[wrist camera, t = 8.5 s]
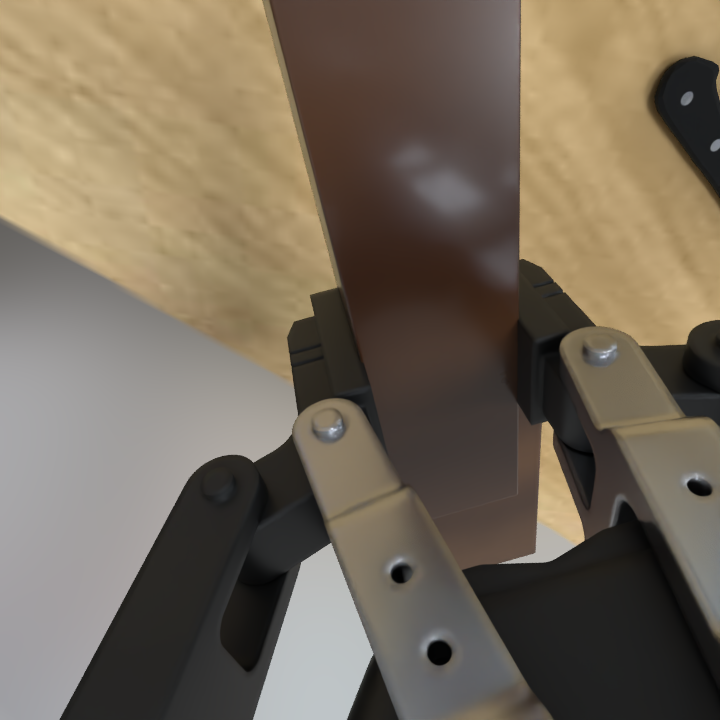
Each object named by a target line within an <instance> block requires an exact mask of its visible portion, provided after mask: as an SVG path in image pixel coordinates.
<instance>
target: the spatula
mask: <svg viewBox="0 0 720 720" xmlns="http://www.w3.org/2000/svg"><path fill="white" fill-rule="evenodd" d="M262 1H263V5H264V9H265V13H266V17H267V20H268V24H269V28H270V32H271V36H272V39H273V43H274V47H275V51H276V55H277V59H278V62H279V66H280V70H281V74H282V78H283V81H284V85H285V89H286V93H287V97H288V100H289V104H290V108H291V112H292V116H293V120H294V123H295V127H296V131H297V135H298V139H299V142H300V146H301V150H302V154H303V158H304V161H305V165H306V169H307V173H308V177H309V181H310V184H311V188H312V192H313V196H314V200H315V203H316V207H317V211H318V215H319V219H320V222H321V226H322V230H323V234H324V238H325V242H326V245H327V249H328V253H329V257H330V261H331V264H332V268H333V272H334V276H335V280H336V283H337V287H338V288H339V291H340V294H341V298H342V301H343V304H344V308H345V311H346V314H347V317H348V321H349V324H350V327H351V331H352V334H353V337H354V340H355V344H356V347H357V350H358V354H359V357H360V360H361V362H362V363H364V366H365V369H366V372H367V376H368V379H369V382H370V385H371V389H372V393H373V397H374V401H375V405H376V409H377V413H378V417H379V421H380V425H381V429H382V433H383V437H384V441H385V445H386V449H387V452H388V456H389V458H390V460H391V462H392V464H393V466H394V467H395V469H396V471H397V473H398V474H399V476H400V478H401V480H402V481H403V483H404V484H405V485H407V484H410V485H411V486H412V487H413V489H414V490H415V491H416V493H417V494H418V496H419V498H420V499H421V501H422V503H423V505H424V506H425V508H426V510H427V512H428V513H429V515H430V517H431V519H432V520H433V522H434V524H435V525H436V527H437V529H438V531H439V532H440V534H441V536H442V538H443V539H444V541H445V543H446V544H447V546H448V548H449V550H450V551H451V553H452V555H453V557H454V558H455V560H456V562H457V563H458V565H459V567H460V569H461V570H463V569H467V568H470V567H474V566H477V565H482V564H499V563H502V562H505V561H509V560H512V559H516V558H519V557H523V556H526V555H529V554H533V553H535V550H536V529H537V509H538V489H539V468H540V448H541V428H542V423H539V424H536V425H532V426H531V424H530V423H529V421H528V419H527V418H526V416H525V414H524V413H523V411H522V409H521V408H520V406H519V405H518V403H517V386H518V319H519V218H520V50H521V0H262Z"/></svg>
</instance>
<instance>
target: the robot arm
mask: <svg viewBox="0 0 720 720" xmlns="http://www.w3.org/2000/svg"><path fill="white" fill-rule="evenodd" d="M310 297H311V302H312V306H313V311H314V315H315V316H313V317H309V318H306V319H302V320H298V321H295V322H294V323H293V325H292V327H291V330H290V332H289V334H288V337H287V340H288V347H289V353H290V361H291V366H292V375H293V382H294V389H295V396H296V403H297V410H298V417H297V419H296V420H295V423H294V425H293V429H292V435H291V436H290V437H289V439H288V440H287V441H286V442H285V443H284V444H283V445H281V446H280V447H279V448H278V449H276V450H275V451H273V452H272V453H270V454H268V455H266V456H264V457H263V458H261V459H259V460H257V461H256V462H254V463H253V462H252V461H251V460H250V459H248V458H246V457H244V456H240V455H227V456H222V457H218V458H215V459H213V460H211V461H209V462H207V463H205V464H204V465H203V466H201V467H200V468H199V469H197V470H196V472H194V474H192V476H191V477H190V478H189V480H188V481H187V483H186V485H185V486H184V488H183V490H182V492H181V494H180V496H179V497H178V500H177V501H176V503H175V506H174V507H173V509H172V511H171V512H170V514H169V516H168V518H167V520H166V522H165V524H164V526H163V528H162V529H161V531H160V533H159V535H158V537H157V539H156V540H155V543H154V544H153V546H152V548H151V550H150V552H149V554H148V555H147V557H146V559H145V561H144V563H143V565H142V567H141V568H140V570H139V572H138V574H137V576H136V578H135V580H134V582H133V583H132V585H131V587H130V589H129V591H128V593H127V595H126V597H125V598H124V600H123V602H122V604H121V606H120V608H119V610H118V611H117V613H116V615H115V617H114V619H113V621H112V623H111V625H110V626H109V628H108V630H107V632H106V634H105V636H104V638H103V640H102V641H101V643H100V645H99V647H98V649H97V651H96V653H95V654H94V656H93V658H92V660H91V662H90V664H89V666H88V667H87V669H86V671H85V673H84V675H83V677H82V679H81V681H80V683H79V684H78V686H77V688H76V690H75V692H74V694H73V696H72V697H71V699H70V701H69V703H68V705H67V707H66V709H65V710H64V712H63V714H62V716H61V718H60V720H253V717H254V714H255V711H256V707H257V704H258V701H259V697H260V695H261V691H262V688H263V685H264V682H265V679H266V675H267V672H268V669H269V666H270V662H271V659H272V656H273V653H274V649H275V646H276V643H277V640H278V637H279V633H280V630H281V627H282V624H283V621H284V617H285V614H286V611H287V608H288V605H289V601H290V598H291V595H292V592H293V588H294V585H295V582H296V579H297V576H298V572H299V569H300V565H301V562H302V561H304V560H305V559H307V558H308V557H310V556H311V555H313V554H314V553H316V552H317V551H319V550H320V549H322V548H323V547H325V546H327V545H328V544H330V543H332V546H333V548H334V551H335V554H336V556H337V559H338V562H339V564H340V567H341V569H342V572H343V575H344V577H345V580H346V582H347V585H348V588H349V590H350V593H351V596H352V598H353V601H354V604H355V606H356V609H357V611H358V614H359V617H360V619H361V622H362V625H363V627H364V629H365V632H366V635H367V638H368V640H369V643H370V646H371V648H372V650H373V653H374V654H373V656H372V658H371V661H370V663H369V665H368V668H367V670H366V673H365V675H364V678H363V680H362V683H361V685H360V688H359V690H358V693H357V695H356V698H355V701H354V703H353V706H352V708H351V711H350V713H349V716H348V719H347V720H720V320H715V321H709V322H705V323H702V324H700V325H698V326H696V327H695V328H694V329H693V330H692V331H691V332H690V334H689V336H688V340H687V344H686V345H666V346H639V345H638V343H637V342H636V341H635V340H634V339H633V338H632V337H631V336H629V335H628V334H626V333H624V332H622V331H619V330H616V329H613V328H608V327H600V326H596V325H595V324H594V323H593V322H592V321H591V320H590V319H589V318H588V317H587V316H586V315H585V313H584V312H583V311H582V310H581V309H580V308H579V307H578V306H577V305H576V304H575V303H574V302H573V301H572V300H571V298H570V297H569V296H568V295H567V294H566V293H563V290H562V289H561V288H560V287H559V286H558V284H557V283H556V282H555V283H554V282H553V279H552V278H551V277H550V276H549V275H548V274H547V273H546V272H545V271H544V269H543V268H542V267H539V266H537V265H535V264H533V263H531V262H528V261H526V260H524V259H521V260H519V319H518V386H517V403H518V405H519V406H520V408H521V409H522V411H523V413H524V414H525V416H526V418H527V419H528V421H529V423H530V424H531V426H532V425H536V424H539V423H543V422H546V421H548V422H549V423H550V425H551V426H552V428H553V429H554V434H553V446H554V449H555V452H556V454H557V457H558V460H559V462H560V465H561V468H562V470H563V473H564V476H565V478H566V481H567V484H568V486H569V489H570V492H571V494H572V497H573V499H574V502H575V505H576V507H577V510H578V513H579V515H580V518H581V521H582V525H583V529H584V536H585V541H584V542H582V543H580V544H579V545H577V546H576V547H574V548H572V549H571V550H569V551H568V552H566V553H564V554H563V555H561V556H560V557H558V558H556V559H555V560H553V561H550V562H546V563H516V564H482V565H477V566H474V567H470V568H467V569H463V570H461V569H460V567H459V565H458V563H457V562H456V560H455V558H454V557H453V555H452V553H451V551H450V550H449V548H448V546H447V544H446V543H445V541H444V539H443V538H442V536H441V534H440V532H439V531H438V529H437V527H436V525H435V524H434V522H433V520H432V519H431V517H430V515H429V513H428V512H427V510H426V508H425V506H424V505H423V503H422V501H421V499H420V498H419V496H418V494H417V493H416V491H415V490H414V489H413V487H412V486H411V485H410V484H407V485H405V484H404V483H403V481H402V480H401V478H400V476H399V474H398V473H397V471H396V469H395V467H394V466H393V464H392V462H391V460H390V458H389V456H388V452H387V449H386V445H385V441H384V437H383V433H382V429H381V425H380V421H379V417H378V413H377V409H376V405H375V401H374V397H373V393H372V389H371V385H370V382H369V379H368V376H367V372H366V369H365V366H364V363H362V362H361V360H360V357H359V354H358V350H357V347H356V344H355V340H354V337H353V334H352V331H351V327H350V324H349V321H348V317H347V314H346V311H345V308H344V304H343V301H342V298H341V294H340V291H339V288H334V289H331V290H327V291H323V292H320V293H316V294H312V295H310Z"/></svg>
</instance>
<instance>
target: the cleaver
mask: <svg viewBox="0 0 720 720" xmlns="http://www.w3.org/2000/svg"><path fill="white" fill-rule="evenodd" d="M718 73H719V66H718V65H717V64H715V63H714V62H712V61H709V60H706V59H703V58H699V57H696V56H693V57H688V58H684V59H681V60H679V61H678V62H676V63H675V64H673V65H672V66H671V67H670V68H669V69H668V70H667V71H666V72H665V73H664V75H663V77H662V79H661V80H660V83H659V86H658V89H657V91H656V94H655V104H656V108H657V111H658V112H659V114H660V116H661V117H662V119H663V120H664V122H665V123H666V125H667V126H668V128H669V129H670V130H671V132H672V133H673V134H674V136H675V137H676V138H677V139H678V141H679V142H680V144H681V145H682V146H683V148H684V149H685V151H686V152H687V153H688V155H689V156H690V158H691V159H692V161H693V162H694V163H695V165H696V166H697V167H698V168H699V169H700V171H701V172H702V173H703V175H704V176H705V177H706V179H707V180H708V181H709V183H710V184H711V185H712V187H713V188H714V190H715V191H716V193H717V194H718V196H719V197H720V100H719V96H718V92H717V88H716V79H717V76H718Z"/></svg>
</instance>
